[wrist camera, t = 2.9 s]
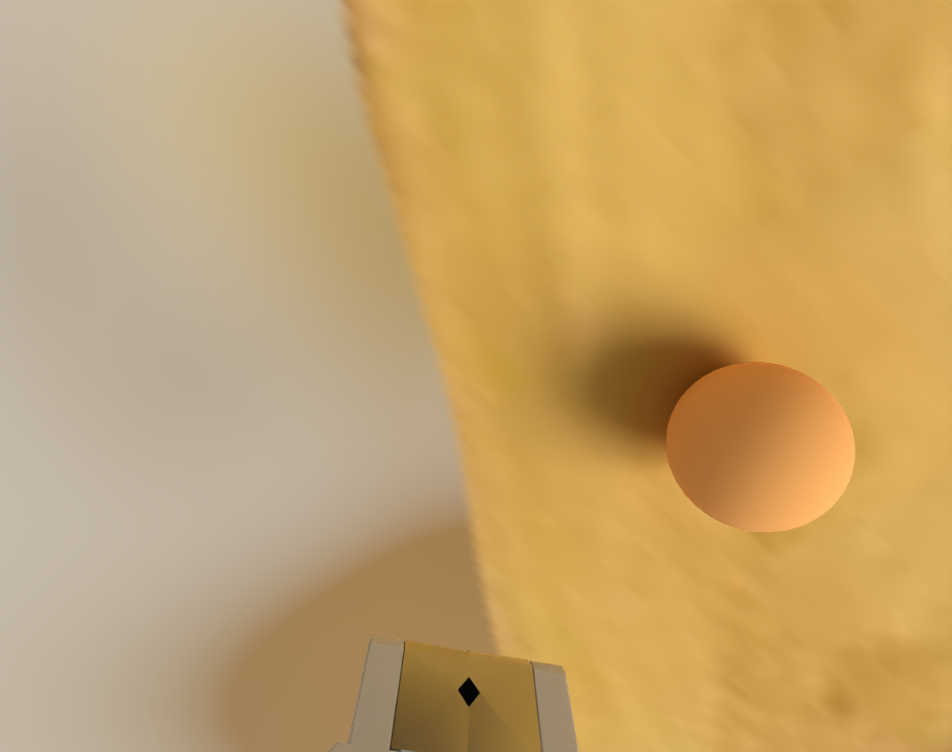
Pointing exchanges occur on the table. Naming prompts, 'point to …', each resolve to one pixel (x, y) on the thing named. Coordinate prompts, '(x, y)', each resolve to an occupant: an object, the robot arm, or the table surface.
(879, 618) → the table surface
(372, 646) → the robot arm
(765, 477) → the ball
